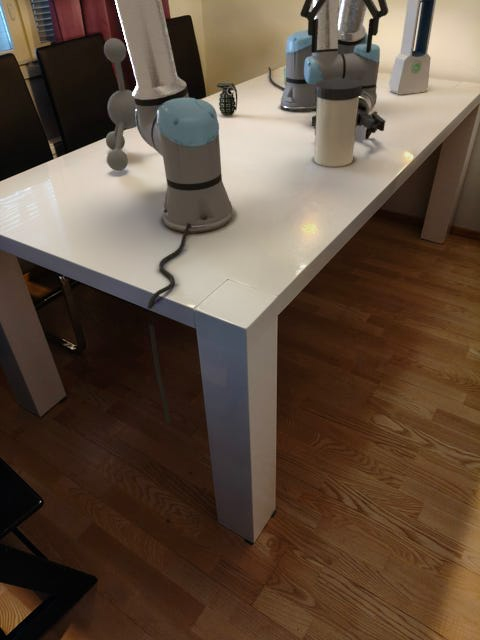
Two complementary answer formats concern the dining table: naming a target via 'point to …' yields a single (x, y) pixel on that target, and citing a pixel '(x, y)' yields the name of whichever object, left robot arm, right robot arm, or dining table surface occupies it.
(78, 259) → the dining table surface
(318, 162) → the jar
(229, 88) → the grenade
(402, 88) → the electronic device
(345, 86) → the lid
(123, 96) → the molecular model
